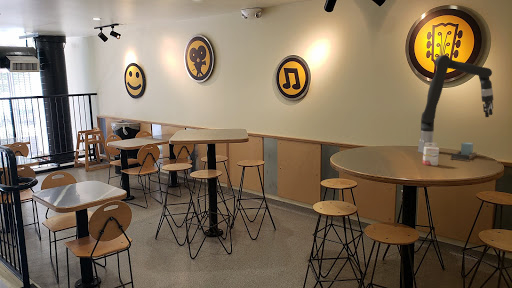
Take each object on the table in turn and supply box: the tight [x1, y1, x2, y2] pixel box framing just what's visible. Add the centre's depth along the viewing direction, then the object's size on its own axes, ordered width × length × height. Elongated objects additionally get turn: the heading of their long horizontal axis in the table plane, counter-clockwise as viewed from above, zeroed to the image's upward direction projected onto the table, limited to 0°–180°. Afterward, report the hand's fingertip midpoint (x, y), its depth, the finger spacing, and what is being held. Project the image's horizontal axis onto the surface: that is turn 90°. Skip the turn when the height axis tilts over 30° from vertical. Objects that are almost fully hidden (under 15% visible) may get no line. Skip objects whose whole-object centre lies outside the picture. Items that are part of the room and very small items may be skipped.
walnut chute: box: [450, 150, 478, 163], centre depth 282 cm, size 23×12×4 cm, turn 138°
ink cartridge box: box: [422, 142, 440, 166], centre depth 260 cm, size 9×5×15 cm, turn 84°
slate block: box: [460, 142, 474, 155], centre depth 286 cm, size 8×6×9 cm
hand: (489, 116), depth 292 cm, fingers open, 8 cm apart
